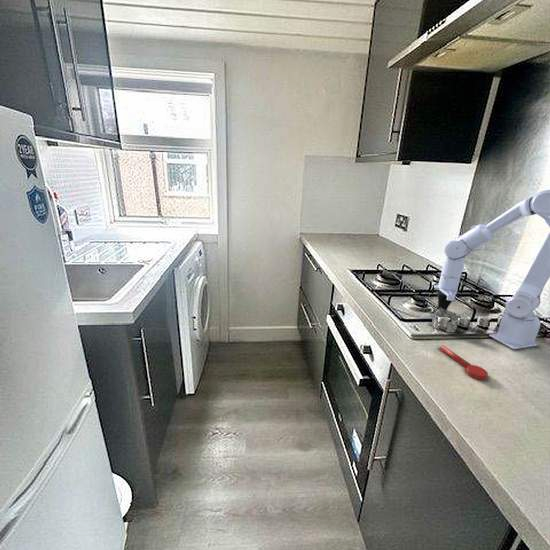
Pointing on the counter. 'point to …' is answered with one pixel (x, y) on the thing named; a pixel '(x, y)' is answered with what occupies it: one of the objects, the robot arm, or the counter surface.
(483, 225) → the robot arm
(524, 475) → the counter surface
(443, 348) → the spoon
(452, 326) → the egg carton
